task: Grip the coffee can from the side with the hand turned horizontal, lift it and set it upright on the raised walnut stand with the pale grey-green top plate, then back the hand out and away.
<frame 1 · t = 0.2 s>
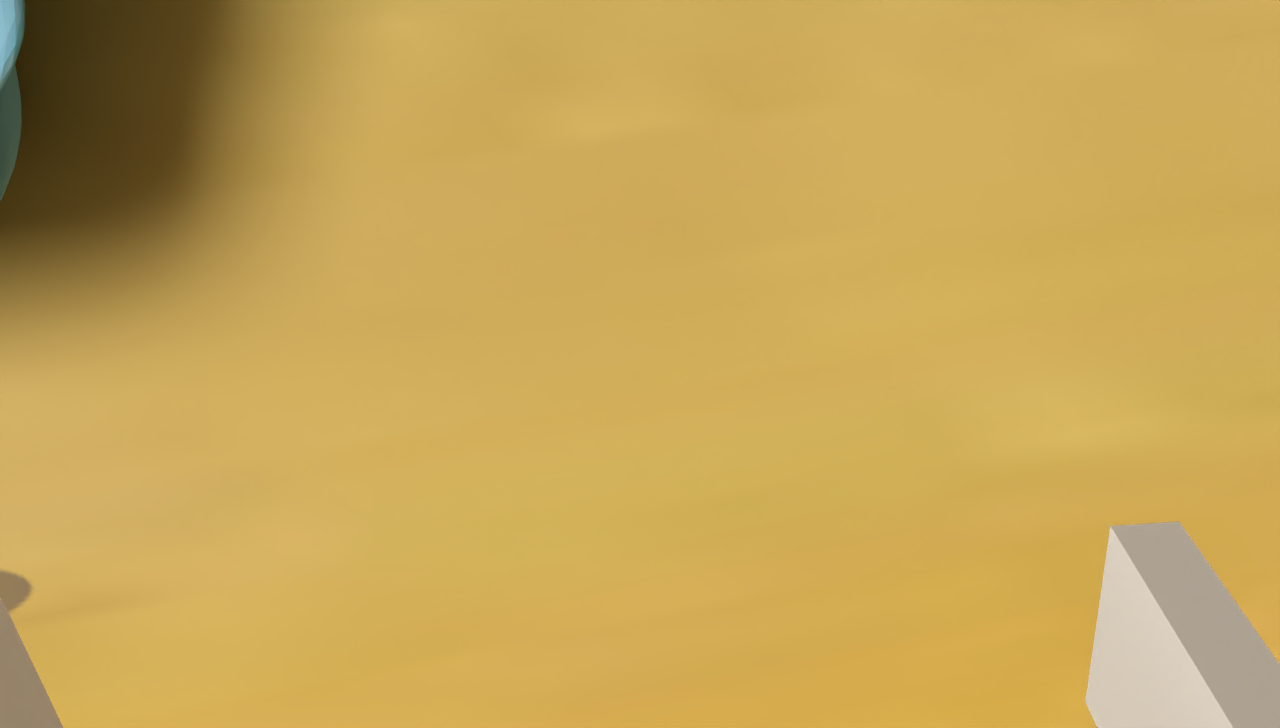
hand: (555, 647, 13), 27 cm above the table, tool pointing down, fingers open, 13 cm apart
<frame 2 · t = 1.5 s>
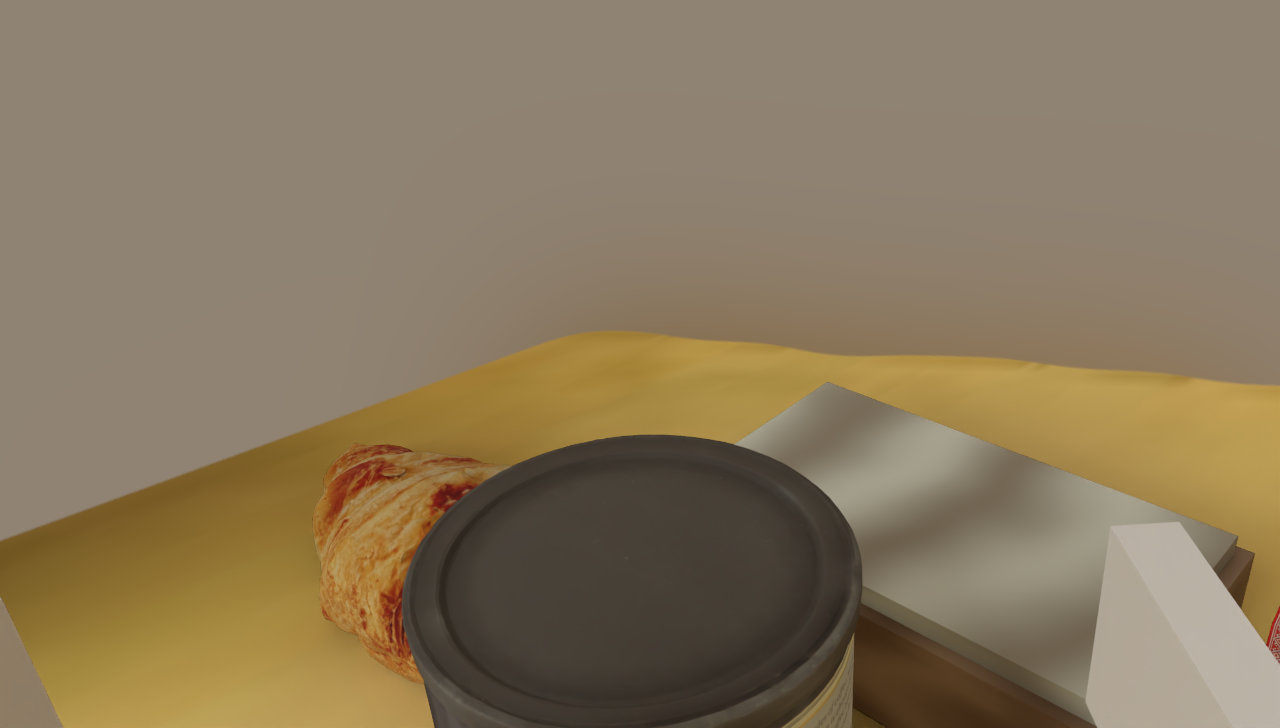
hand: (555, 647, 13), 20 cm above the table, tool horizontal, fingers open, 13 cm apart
stand: (928, 618, 42), on the table
croissant: (459, 603, 45), on the table
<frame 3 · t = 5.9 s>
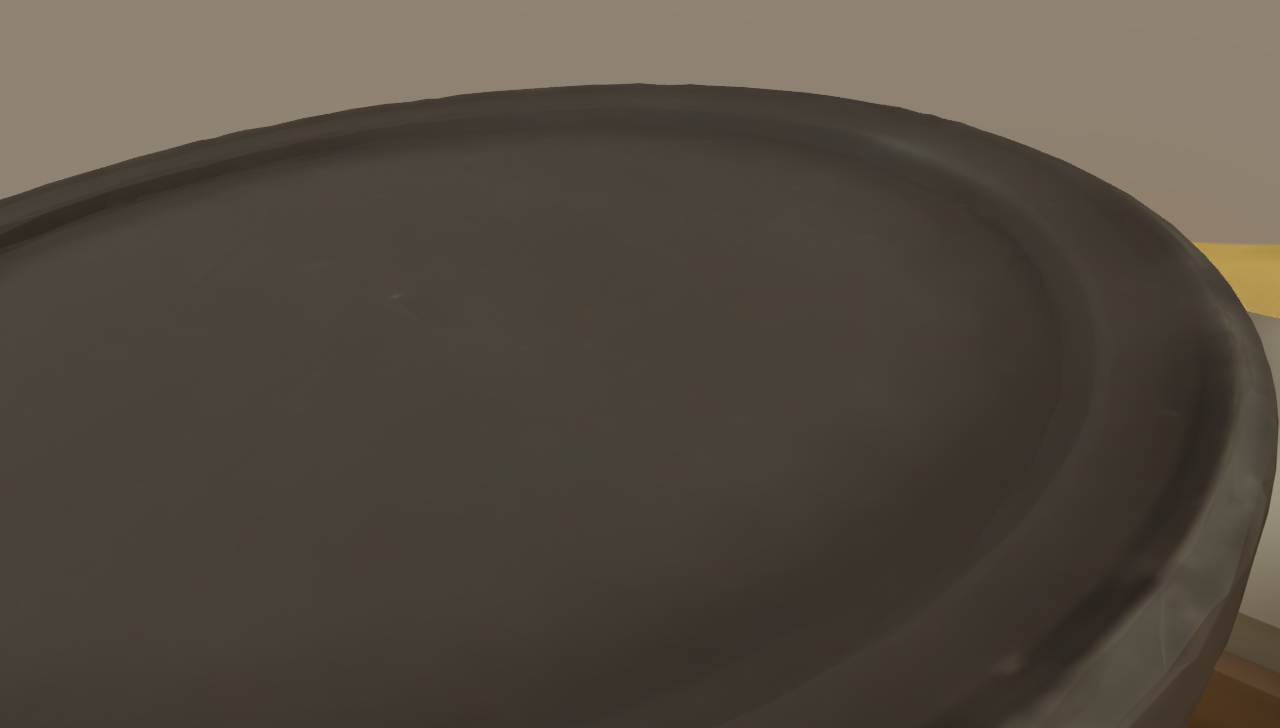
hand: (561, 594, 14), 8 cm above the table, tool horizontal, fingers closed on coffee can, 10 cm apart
stand: (1075, 589, 24), on the table
when the fingers open (14 cm above the table, at t = 10.8 s): coffee can drops 1 cm, resting on stand.
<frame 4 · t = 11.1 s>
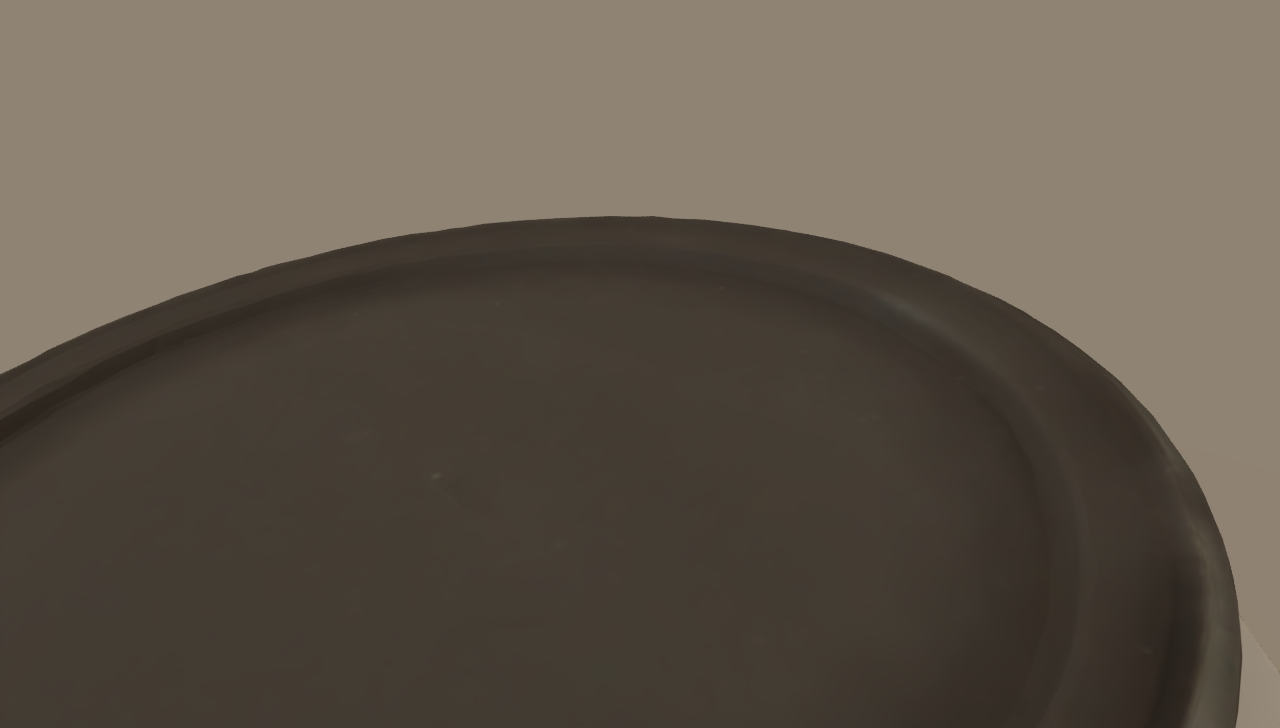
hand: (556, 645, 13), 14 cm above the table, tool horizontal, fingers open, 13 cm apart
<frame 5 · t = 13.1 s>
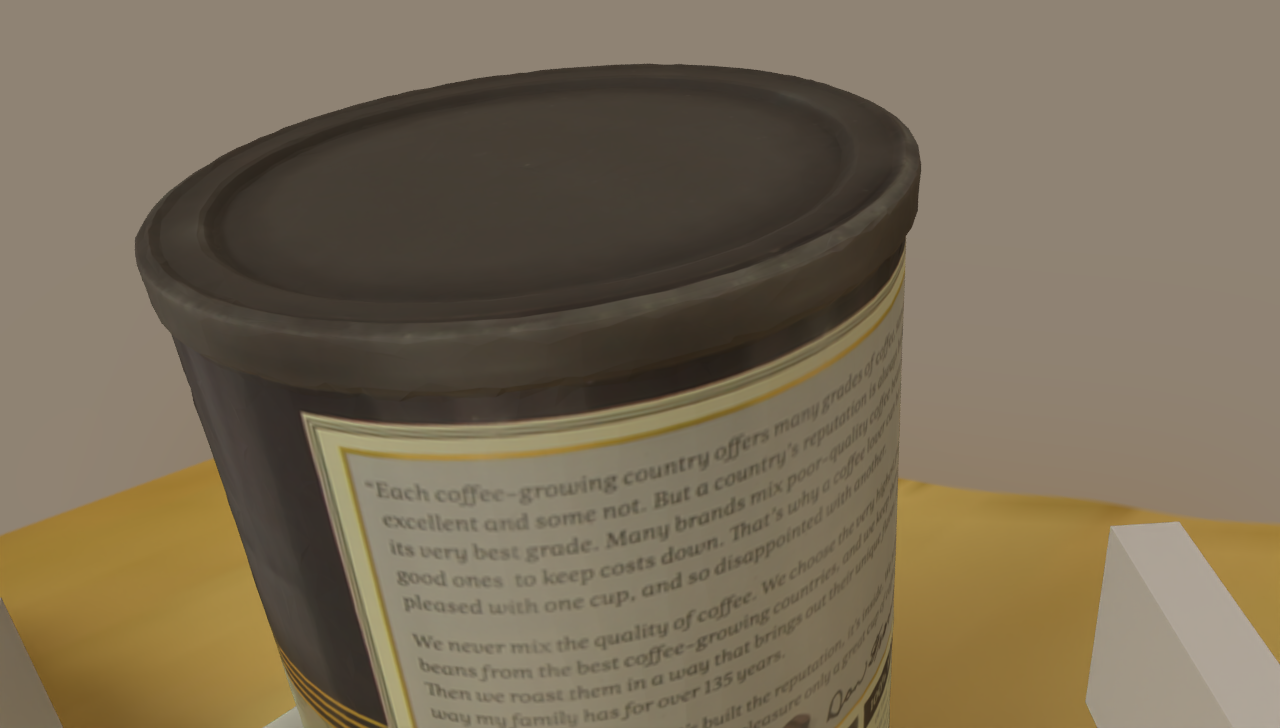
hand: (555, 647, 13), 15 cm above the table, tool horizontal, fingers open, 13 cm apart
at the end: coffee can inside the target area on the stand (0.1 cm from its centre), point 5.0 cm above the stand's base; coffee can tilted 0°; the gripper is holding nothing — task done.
